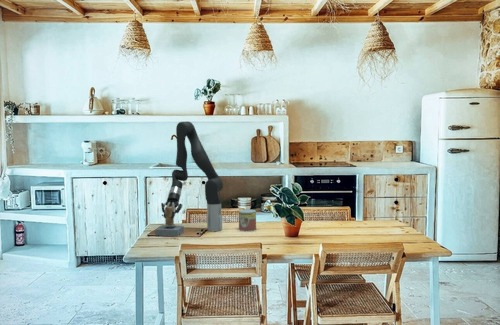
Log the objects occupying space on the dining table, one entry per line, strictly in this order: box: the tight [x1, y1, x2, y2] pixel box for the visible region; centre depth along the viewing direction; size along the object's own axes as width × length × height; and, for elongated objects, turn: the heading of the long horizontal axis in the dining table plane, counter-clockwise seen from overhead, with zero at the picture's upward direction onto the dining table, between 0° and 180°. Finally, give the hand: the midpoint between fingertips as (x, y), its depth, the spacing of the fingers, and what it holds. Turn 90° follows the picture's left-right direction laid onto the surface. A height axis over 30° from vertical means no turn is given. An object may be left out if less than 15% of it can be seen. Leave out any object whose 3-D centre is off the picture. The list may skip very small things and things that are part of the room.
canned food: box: [238, 208, 257, 232], centre depth 286 cm, size 11×11×12 cm
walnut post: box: [164, 206, 175, 225], centre depth 276 cm, size 4×4×11 cm
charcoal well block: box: [155, 224, 185, 237], centre depth 276 cm, size 14×12×4 cm
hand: (168, 217), depth 274 cm, fingers closed on walnut post, 4 cm apart
